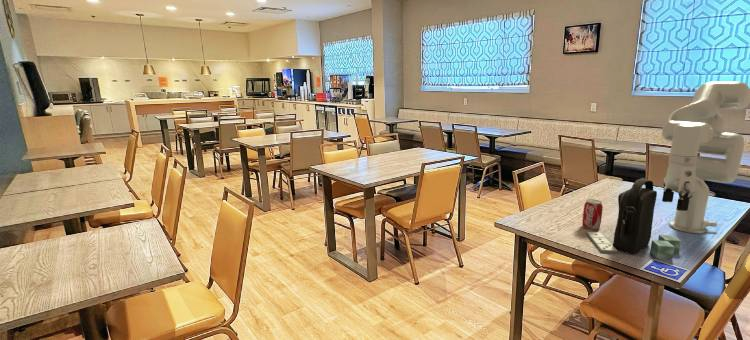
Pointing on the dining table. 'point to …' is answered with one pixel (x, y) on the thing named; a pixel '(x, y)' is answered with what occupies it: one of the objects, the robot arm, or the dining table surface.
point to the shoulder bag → (635, 217)
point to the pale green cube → (671, 241)
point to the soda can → (592, 214)
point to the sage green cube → (662, 249)
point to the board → (601, 242)
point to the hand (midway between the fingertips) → (674, 205)
